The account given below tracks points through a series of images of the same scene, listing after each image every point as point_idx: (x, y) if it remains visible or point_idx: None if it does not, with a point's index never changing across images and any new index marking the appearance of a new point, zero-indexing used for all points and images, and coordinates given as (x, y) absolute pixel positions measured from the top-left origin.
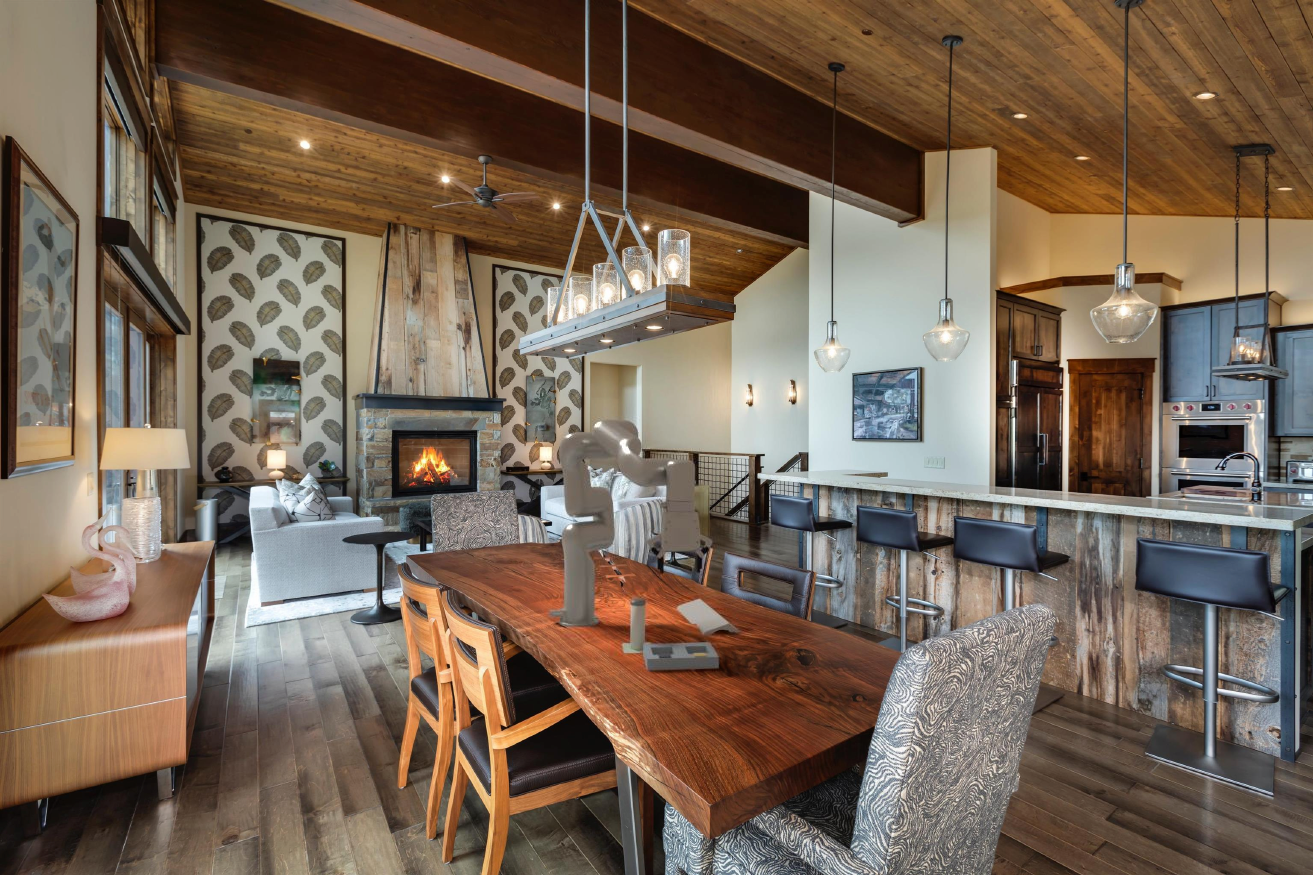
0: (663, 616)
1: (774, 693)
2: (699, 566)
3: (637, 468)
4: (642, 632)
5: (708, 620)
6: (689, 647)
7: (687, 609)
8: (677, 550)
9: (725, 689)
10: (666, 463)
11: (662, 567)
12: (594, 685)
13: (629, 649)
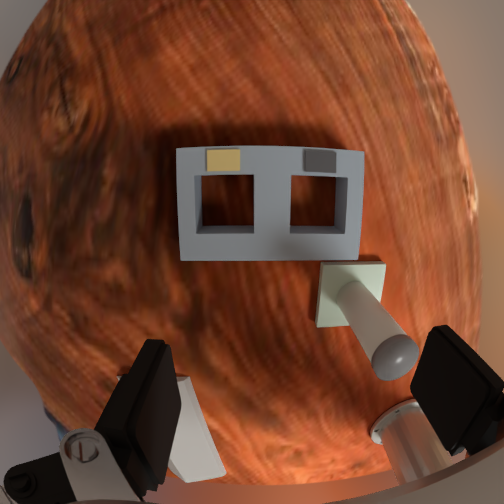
0: (254, 452)
1: (108, 56)
2: (137, 368)
3: None
4: (357, 301)
5: None
6: (240, 232)
7: (209, 463)
8: (459, 470)
9: (192, 64)
10: None
11: (458, 345)
12: (440, 126)
13: (370, 286)
